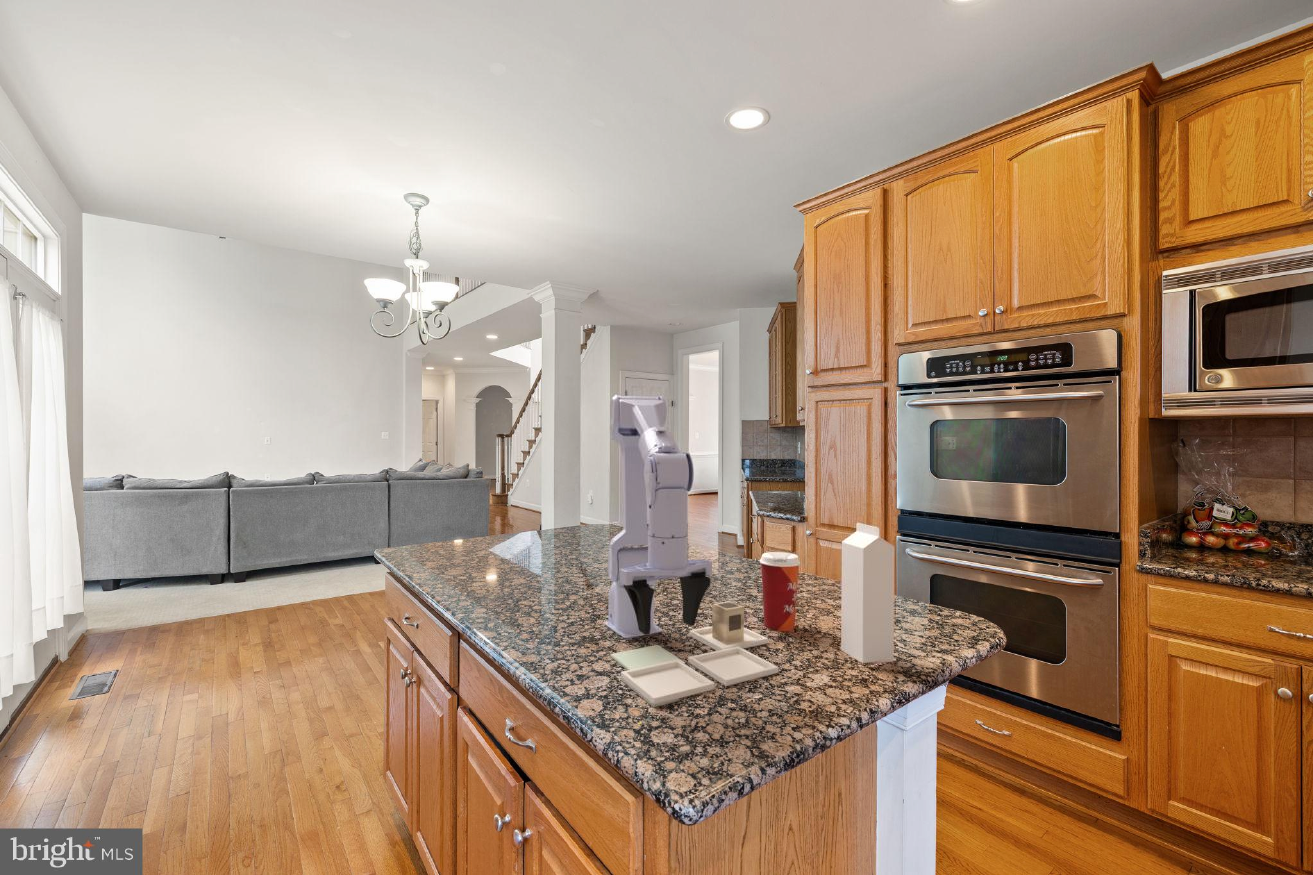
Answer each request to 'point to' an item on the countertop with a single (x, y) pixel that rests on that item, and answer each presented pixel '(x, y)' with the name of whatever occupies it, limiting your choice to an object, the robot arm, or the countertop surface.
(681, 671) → the dish
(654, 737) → the countertop surface
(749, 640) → the dish
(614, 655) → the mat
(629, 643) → the countertop surface
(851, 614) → the milk
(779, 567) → the paper cup
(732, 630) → the letter block
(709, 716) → the countertop surface
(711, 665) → the dish
